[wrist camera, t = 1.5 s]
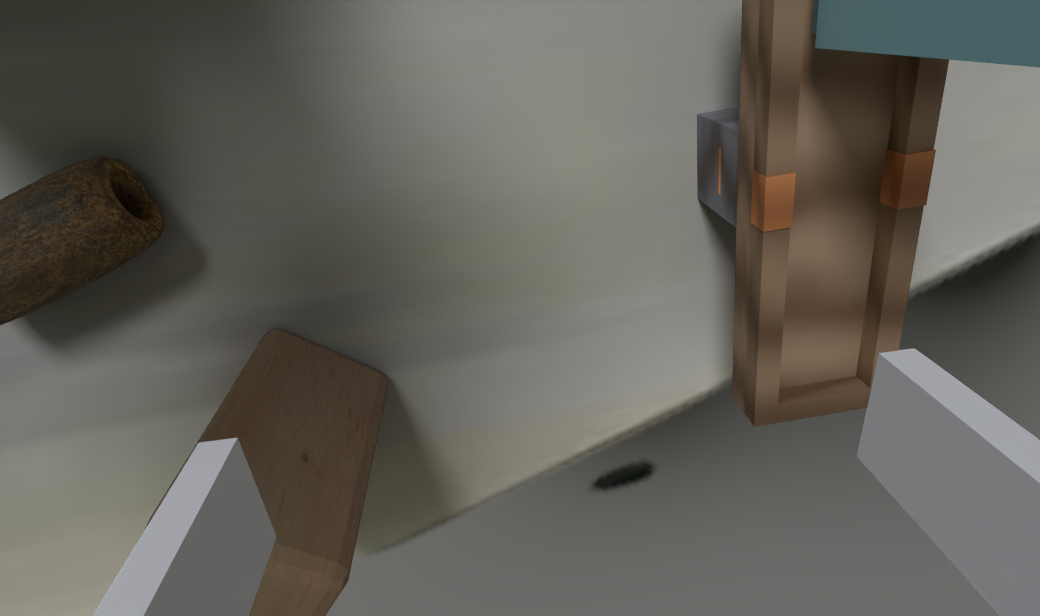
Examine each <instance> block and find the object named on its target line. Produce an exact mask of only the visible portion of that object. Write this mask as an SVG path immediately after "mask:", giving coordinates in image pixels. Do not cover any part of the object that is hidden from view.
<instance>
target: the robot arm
mask: <svg viewBox="0 0 1040 616" xmlns="http://www.w3.org/2000/svg"><path fill="white" fill-rule="evenodd" d="M857 457H858V458H859V459H860V460H861V461H862V463H863V464H864V465H865V466H866V467H867V468H868V469H869V470H870V471H871V473H872V474H873V475H874V476H875V477H876V478H877V479H878V480H879V481H880V483H881V484H882V485H883V486H884V487H885V488H886V489H887V490H888V491H889V492H890V494H891V495H892V496H893V497H894V498H895V499H896V500H897V501H898V503H899V504H900V505H901V506H902V507H903V508H904V509H905V510H906V511H907V513H908V514H909V515H910V516H911V517H912V518H913V519H914V520H915V521H916V523H917V524H918V525H919V526H920V527H921V528H922V529H923V530H924V532H925V533H926V534H927V535H928V536H929V537H930V538H931V539H932V540H933V542H934V543H935V544H936V545H937V546H938V547H939V548H940V549H941V550H942V552H943V553H944V554H945V555H946V556H947V557H948V558H949V559H950V560H951V562H953V564H954V565H955V566H956V567H957V568H958V569H959V571H960V572H961V573H962V574H963V575H964V576H965V577H966V578H967V579H968V581H969V582H970V583H971V584H972V585H973V586H974V587H975V588H976V589H977V591H978V592H979V593H980V594H981V595H982V596H983V597H984V598H985V599H986V600H987V602H988V603H989V604H990V605H991V606H992V607H993V608H994V609H995V610H996V612H997V613H998V614H999V615H1000V616H1040V440H1038V439H1037V438H1036V437H1034V436H1033V435H1032V434H1030V433H1029V432H1028V431H1026V430H1025V429H1024V428H1022V427H1021V426H1020V425H1018V424H1017V423H1016V422H1014V421H1013V420H1011V419H1010V418H1009V417H1007V416H1006V415H1005V414H1003V413H1002V412H1000V411H999V410H998V409H996V408H995V407H994V406H992V405H991V404H990V403H988V402H987V401H986V400H984V399H983V398H981V397H980V396H978V395H977V394H976V393H975V392H973V391H972V390H971V389H969V388H968V387H966V386H965V385H963V384H962V383H961V382H960V381H958V380H957V379H956V378H954V377H953V376H951V375H950V374H949V373H947V372H946V371H944V370H943V369H942V368H941V367H939V366H938V365H936V364H935V363H934V362H932V361H931V360H930V359H928V358H927V357H926V356H924V355H923V354H922V353H920V352H919V351H917V350H916V349H915V348H914V349H907V350H899V351H891V352H884V353H879V355H878V359H877V364H876V369H875V374H874V378H873V383H872V388H871V393H870V397H869V402H868V407H867V412H866V416H865V421H864V426H863V431H862V435H861V440H860V445H859V450H858V455H857ZM275 540H276V534H275V531H274V529H273V526H272V524H271V521H270V519H269V516H268V514H267V511H266V509H265V506H264V503H263V501H262V498H261V496H260V493H259V491H258V488H257V486H256V483H255V481H254V478H253V475H252V473H251V470H250V468H249V465H248V463H247V460H246V458H245V455H244V453H243V450H242V448H241V445H240V442H239V440H238V438H230V439H223V440H215V441H208V442H200V443H198V444H197V446H196V448H195V449H194V451H193V452H192V454H191V456H190V457H189V459H188V461H187V462H186V464H185V466H184V467H183V469H182V470H181V472H180V474H179V475H178V477H177V479H176V480H175V482H174V483H173V485H172V487H171V488H170V490H169V492H168V493H167V495H166V496H165V498H164V500H163V501H162V503H161V505H160V506H159V508H158V510H157V511H156V513H155V514H154V516H153V518H152V519H151V521H150V523H149V524H148V526H147V527H146V529H145V531H144V532H143V534H142V536H141V537H140V539H139V540H138V542H137V544H136V545H135V547H134V549H133V550H132V552H131V554H130V555H129V557H128V558H127V560H126V562H125V563H124V565H123V567H122V568H121V570H120V571H119V573H118V575H117V576H116V578H115V580H114V581H113V583H112V584H111V586H110V588H109V589H108V591H107V593H106V594H105V596H104V598H103V599H102V601H101V602H100V604H99V606H98V607H97V609H96V611H95V612H94V614H93V615H92V616H249V613H250V611H251V608H252V605H253V602H254V599H255V596H256V594H257V591H258V588H259V585H260V582H261V579H262V577H263V574H264V571H265V568H266V565H267V562H268V560H269V557H270V554H271V551H272V548H273V545H274V543H275Z"/></svg>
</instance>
